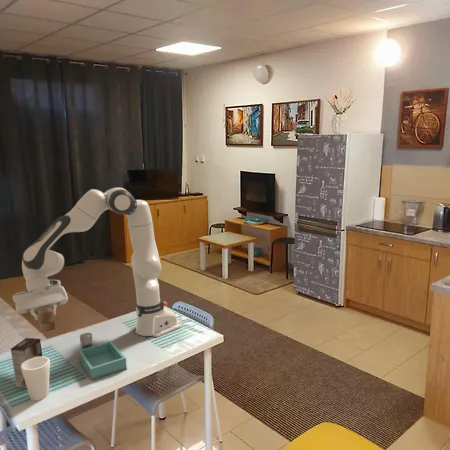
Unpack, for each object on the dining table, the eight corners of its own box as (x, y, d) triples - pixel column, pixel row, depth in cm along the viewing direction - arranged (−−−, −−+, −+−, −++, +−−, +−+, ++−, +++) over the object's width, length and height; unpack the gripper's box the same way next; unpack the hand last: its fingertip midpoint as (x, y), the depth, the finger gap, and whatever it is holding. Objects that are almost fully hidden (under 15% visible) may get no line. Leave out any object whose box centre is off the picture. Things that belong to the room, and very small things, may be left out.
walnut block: (52, 325, 176) (50, 307, 174) (55, 329, 172) (52, 311, 170) (39, 328, 173) (37, 310, 172) (42, 332, 169) (39, 314, 168)
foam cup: (51, 400, 150) (47, 367, 147) (23, 405, 147) (19, 372, 145) (54, 385, 159) (50, 354, 156) (27, 390, 156) (23, 358, 154)
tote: (112, 351, 184) (111, 341, 183) (126, 369, 169) (125, 358, 168) (79, 361, 176) (78, 350, 175) (91, 380, 161) (90, 369, 160)
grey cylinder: (91, 348, 187) (89, 331, 185) (94, 352, 183) (93, 335, 181) (80, 351, 184) (78, 334, 183) (83, 356, 180) (81, 339, 179)
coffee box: (31, 374, 167) (26, 337, 164) (45, 375, 166) (40, 338, 163) (15, 387, 159) (10, 348, 155) (30, 388, 157) (25, 349, 154)
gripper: (11, 290, 170) (18, 320, 164) (63, 279, 181) (71, 307, 175) (11, 297, 175) (18, 327, 169) (62, 286, 186) (70, 314, 180)
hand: (45, 317), depth 172 cm, fingers closed on walnut block, 5 cm apart
